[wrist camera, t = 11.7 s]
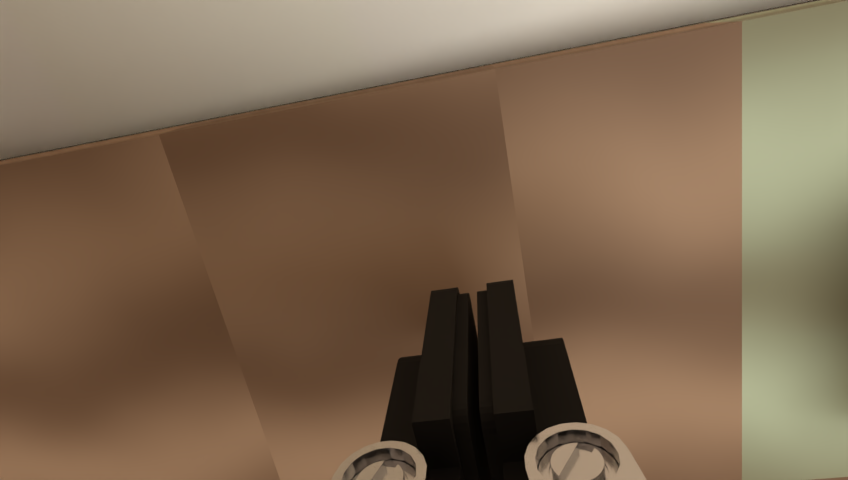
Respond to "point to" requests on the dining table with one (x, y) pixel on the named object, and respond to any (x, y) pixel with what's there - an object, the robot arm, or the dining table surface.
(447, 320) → the robot arm
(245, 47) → the dining table surface
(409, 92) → the trap deck
